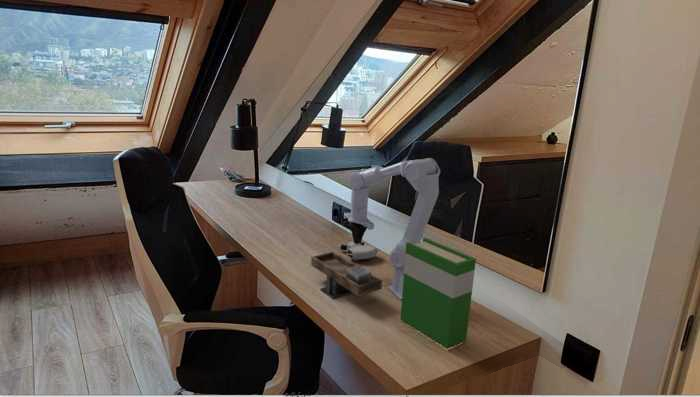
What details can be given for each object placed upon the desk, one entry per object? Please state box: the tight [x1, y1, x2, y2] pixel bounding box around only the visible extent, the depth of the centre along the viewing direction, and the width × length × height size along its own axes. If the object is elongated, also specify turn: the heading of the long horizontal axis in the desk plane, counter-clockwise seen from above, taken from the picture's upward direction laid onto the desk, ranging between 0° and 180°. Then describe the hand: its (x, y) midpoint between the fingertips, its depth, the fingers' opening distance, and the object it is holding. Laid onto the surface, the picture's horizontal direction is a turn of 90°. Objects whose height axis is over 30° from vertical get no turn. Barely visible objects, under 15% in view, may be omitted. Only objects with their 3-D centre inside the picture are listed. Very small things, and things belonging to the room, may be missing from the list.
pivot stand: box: [319, 275, 354, 300], centre depth 150 cm, size 7×14×6 cm, turn 127°
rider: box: [346, 264, 372, 286], centre depth 143 cm, size 7×5×5 cm
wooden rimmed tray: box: [310, 251, 383, 297], centre depth 149 cm, size 26×9×3 cm, turn 37°
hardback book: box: [400, 237, 477, 349], centre depth 125 cm, size 18×7×24 cm, turn 37°
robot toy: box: [337, 241, 382, 261], centre depth 178 cm, size 12×4×15 cm
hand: (357, 243), depth 162 cm, fingers closed
